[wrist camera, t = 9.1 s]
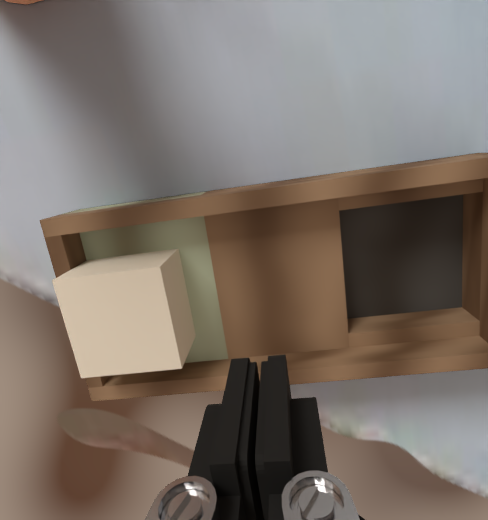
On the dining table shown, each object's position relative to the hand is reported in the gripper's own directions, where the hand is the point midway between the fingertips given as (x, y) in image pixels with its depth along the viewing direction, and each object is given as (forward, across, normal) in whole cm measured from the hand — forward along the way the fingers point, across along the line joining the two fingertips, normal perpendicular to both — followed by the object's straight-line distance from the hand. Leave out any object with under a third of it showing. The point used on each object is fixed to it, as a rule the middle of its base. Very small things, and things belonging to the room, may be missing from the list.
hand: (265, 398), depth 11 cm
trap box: (+15, 0, +1) cm, 15 cm away
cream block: (+12, +8, +1) cm, 15 cm away
